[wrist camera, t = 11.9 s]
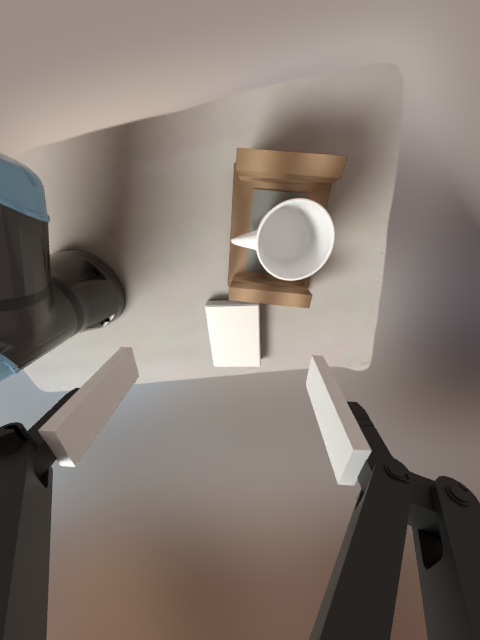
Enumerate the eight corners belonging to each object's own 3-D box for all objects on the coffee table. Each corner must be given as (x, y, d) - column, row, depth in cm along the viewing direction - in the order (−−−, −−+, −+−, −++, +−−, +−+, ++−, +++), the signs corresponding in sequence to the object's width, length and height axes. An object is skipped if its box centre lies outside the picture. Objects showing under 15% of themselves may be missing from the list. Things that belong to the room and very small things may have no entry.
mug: (234, 205, 31) (223, 200, 22) (315, 203, 30) (342, 196, 21) (235, 263, 35) (227, 280, 25) (308, 263, 34) (328, 281, 24)
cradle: (228, 284, 38) (221, 299, 31) (235, 164, 30) (227, 147, 23) (304, 291, 38) (315, 308, 30) (331, 172, 30) (356, 156, 22)
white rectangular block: (215, 359, 46) (213, 367, 44) (207, 300, 40) (204, 306, 38) (260, 359, 45) (260, 367, 43) (259, 299, 39) (259, 304, 37)
